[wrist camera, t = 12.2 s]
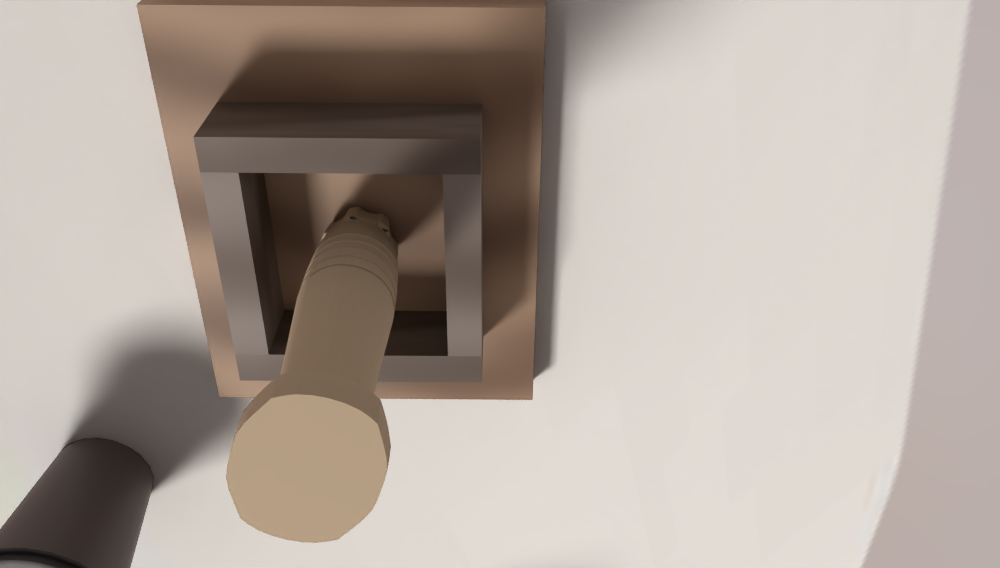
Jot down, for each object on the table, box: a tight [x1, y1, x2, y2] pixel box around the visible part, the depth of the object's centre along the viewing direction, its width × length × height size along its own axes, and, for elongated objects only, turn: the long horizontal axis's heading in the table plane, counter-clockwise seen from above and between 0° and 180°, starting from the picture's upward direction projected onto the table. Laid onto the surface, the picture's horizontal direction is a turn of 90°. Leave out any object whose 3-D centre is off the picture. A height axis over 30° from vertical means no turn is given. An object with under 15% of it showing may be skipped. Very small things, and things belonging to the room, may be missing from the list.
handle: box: [226, 207, 398, 543], centre depth 35 cm, size 5×6×15 cm
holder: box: [137, 0, 546, 400], centre depth 40 cm, size 20×16×5 cm
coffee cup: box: [0, 438, 153, 568], centre depth 48 cm, size 8×8×10 cm
